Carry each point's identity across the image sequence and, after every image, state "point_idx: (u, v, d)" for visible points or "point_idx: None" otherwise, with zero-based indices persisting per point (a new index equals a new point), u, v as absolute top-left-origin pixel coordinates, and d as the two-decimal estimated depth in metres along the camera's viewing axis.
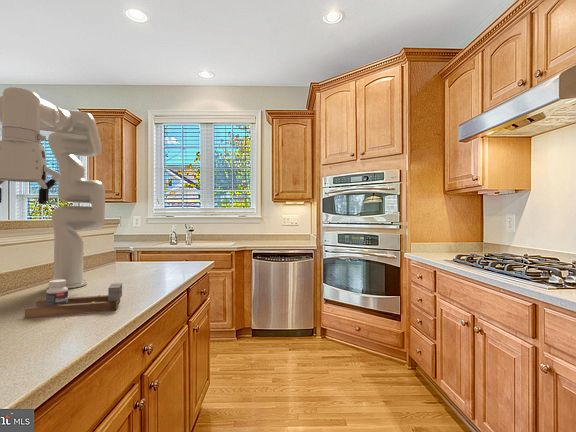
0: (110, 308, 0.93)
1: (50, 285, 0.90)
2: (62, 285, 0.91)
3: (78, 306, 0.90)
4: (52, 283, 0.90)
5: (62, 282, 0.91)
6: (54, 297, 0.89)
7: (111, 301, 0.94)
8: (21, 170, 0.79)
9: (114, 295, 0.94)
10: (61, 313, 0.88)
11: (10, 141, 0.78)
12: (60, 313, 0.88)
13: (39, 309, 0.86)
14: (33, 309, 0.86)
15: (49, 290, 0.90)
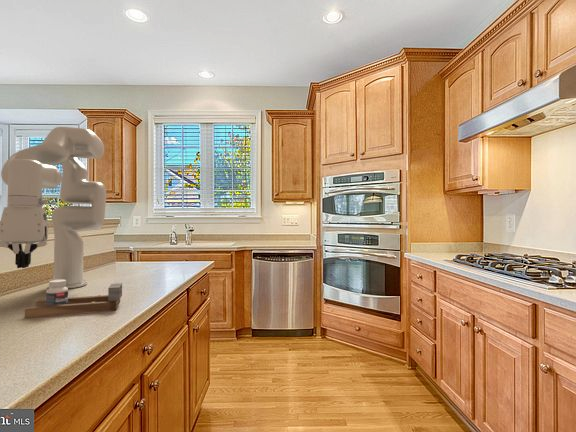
0: (110, 308, 0.93)
1: (50, 285, 0.90)
2: (62, 285, 0.91)
3: (78, 306, 0.90)
4: (52, 283, 0.90)
5: (62, 282, 0.91)
6: (54, 297, 0.89)
7: (111, 301, 0.94)
8: (24, 233, 0.87)
9: (114, 295, 0.94)
10: (61, 313, 0.88)
11: (15, 207, 0.86)
12: (60, 313, 0.88)
13: (39, 309, 0.86)
14: (33, 309, 0.86)
15: (49, 290, 0.90)
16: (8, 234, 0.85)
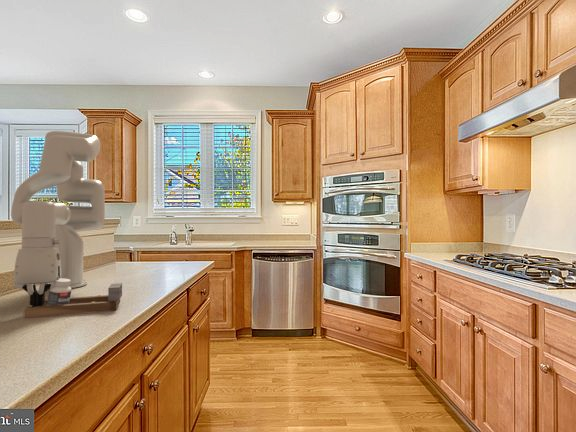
0: (110, 308, 0.93)
1: (55, 284, 0.90)
2: (67, 285, 0.91)
3: (78, 306, 0.90)
4: (57, 282, 0.90)
5: (67, 282, 0.91)
6: (57, 297, 0.89)
7: (111, 301, 0.94)
8: (38, 275, 0.88)
9: (114, 295, 0.94)
10: (61, 313, 0.88)
11: (29, 249, 0.87)
12: (60, 313, 0.88)
13: (39, 309, 0.86)
14: (33, 309, 0.86)
15: (53, 289, 0.90)
16: (23, 276, 0.87)
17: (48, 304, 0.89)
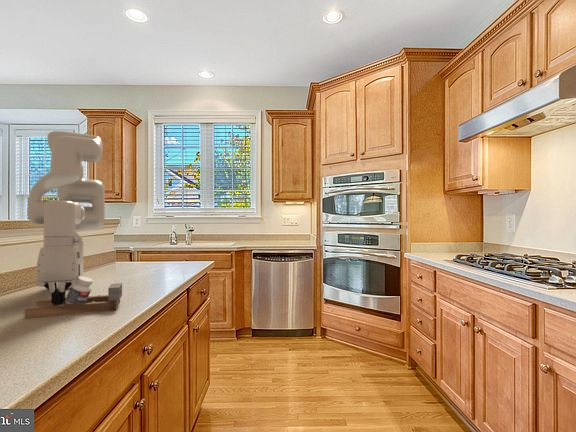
0: (110, 308, 0.93)
1: (78, 282, 0.92)
2: (88, 285, 0.93)
3: (78, 306, 0.90)
4: (81, 281, 0.92)
5: (90, 282, 0.93)
6: (78, 295, 0.91)
7: (111, 301, 0.94)
8: (60, 273, 0.89)
9: (114, 295, 0.94)
10: (61, 313, 0.88)
11: (51, 248, 0.89)
12: (60, 313, 0.88)
13: (39, 309, 0.86)
14: (33, 309, 0.86)
15: (75, 286, 0.91)
16: (44, 274, 0.88)
17: (67, 300, 0.91)
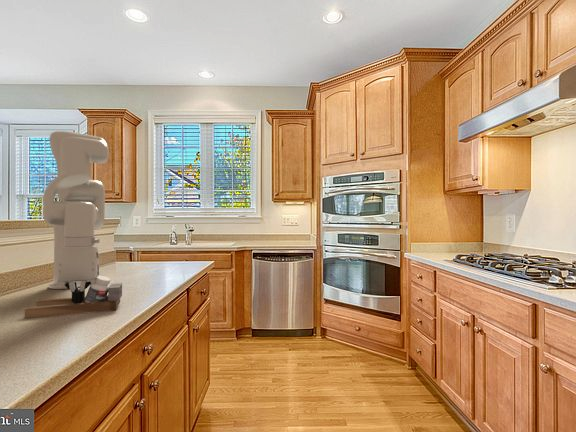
0: (110, 308, 0.93)
1: (96, 281, 0.93)
2: (106, 284, 0.95)
3: (78, 306, 0.90)
4: (99, 280, 0.93)
5: (107, 281, 0.95)
6: (96, 294, 0.93)
7: (111, 301, 0.94)
8: (80, 273, 0.91)
9: (114, 295, 0.94)
10: (61, 313, 0.88)
11: (71, 248, 0.90)
12: (60, 313, 0.88)
13: (39, 309, 0.86)
14: (33, 309, 0.86)
15: (94, 285, 0.93)
16: (65, 274, 0.90)
17: (86, 299, 0.93)
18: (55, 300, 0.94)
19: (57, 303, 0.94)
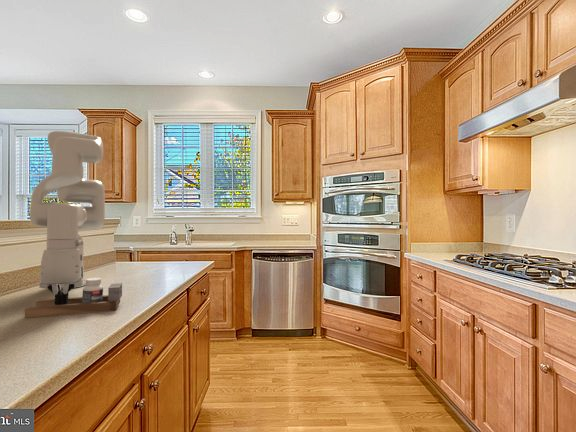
0: (110, 308, 0.93)
1: (87, 283, 0.93)
2: (98, 283, 0.94)
3: (78, 306, 0.90)
4: (89, 281, 0.93)
5: (98, 280, 0.94)
6: (90, 295, 0.92)
7: (111, 301, 0.94)
8: (63, 275, 0.90)
9: (114, 295, 0.94)
10: (61, 313, 0.88)
11: (54, 251, 0.89)
12: (60, 313, 0.88)
13: (39, 309, 0.86)
14: (33, 309, 0.86)
15: (86, 288, 0.93)
16: (48, 276, 0.89)
17: None
18: None
19: None
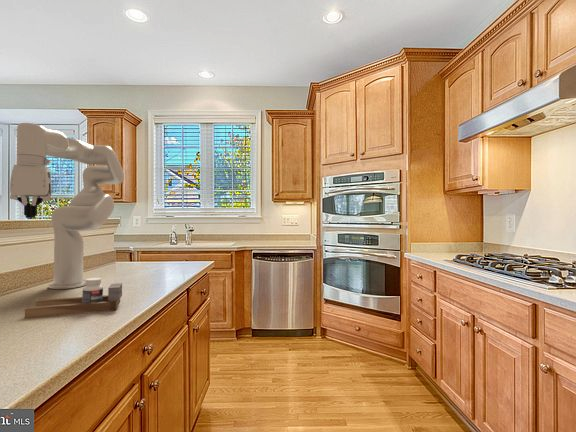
0: (110, 308, 0.93)
1: (86, 283, 0.93)
2: (97, 283, 0.94)
3: (78, 306, 0.90)
4: (88, 281, 0.93)
5: (97, 280, 0.94)
6: (90, 295, 0.92)
7: (111, 301, 0.94)
8: (31, 188, 1.00)
9: (114, 295, 0.94)
10: (61, 313, 0.88)
11: (23, 165, 1.00)
12: (60, 313, 0.88)
13: (39, 309, 0.86)
14: (33, 309, 0.86)
15: (85, 288, 0.93)
16: (17, 188, 0.99)
17: None
18: (55, 300, 0.94)
19: (57, 303, 0.94)
